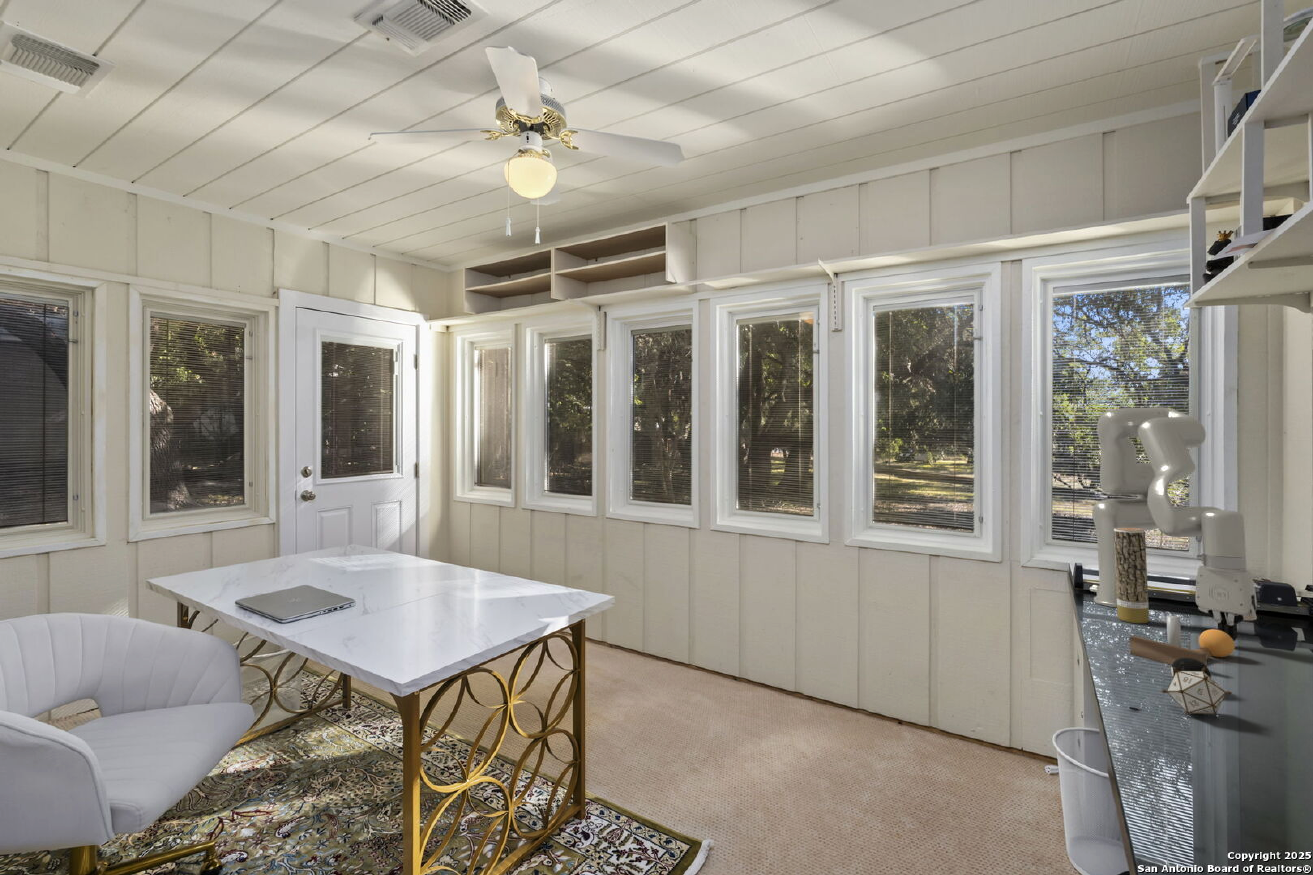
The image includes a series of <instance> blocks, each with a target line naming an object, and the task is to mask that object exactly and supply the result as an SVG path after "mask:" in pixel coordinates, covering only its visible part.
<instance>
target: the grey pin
mask: <svg viewBox="0 0 1313 875" xmlns="http://www.w3.org/2000/svg"><path fill="white" fill-rule="evenodd" d="M1181 630H1182V628H1181V617H1180V616H1176V615H1166V634H1167V635H1166V636H1167V637H1166V638H1167V644H1170V645H1175V646H1179V647H1182V634H1181V633H1182V632H1181Z"/></svg>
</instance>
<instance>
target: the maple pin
mask: <svg viewBox="0 0 1313 875" xmlns="http://www.w3.org/2000/svg"><path fill="white" fill-rule="evenodd" d="M1194 650H1195V651H1199V652H1203V653H1206V657H1207V660H1208V659H1210V658H1212V657H1213V656H1212V653H1211V651H1210V650H1209V649H1208V648H1205V647H1202V648H1201V647H1199V648H1196V649H1194Z"/></svg>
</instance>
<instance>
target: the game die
mask: <svg viewBox="0 0 1313 875" xmlns="http://www.w3.org/2000/svg"><path fill="white" fill-rule="evenodd" d="M1173 669H1174V671H1176V672H1175V675H1174V677H1172V678H1171V681H1170V683H1169V685H1168V687H1167V689H1162V690H1160V692H1161V693H1163V694H1166V693H1167V694H1168V695H1169V696H1170V697H1171V698H1172V699H1173V700H1174V701H1175V702H1176V703H1177V704H1178V705H1179V706H1180V707H1181V708H1182V709H1183V710H1184V711H1185V712H1186V713H1185V714H1187V715H1189V716H1190V714H1204V715H1207V714H1208V715H1214V714H1215V715H1219V714H1218V713H1217V712H1218V710H1219V708H1220V706H1221V704H1222V703H1223V701H1224V698H1225V696H1226V695H1232V694H1233V692H1232V691H1230V690H1227V691H1225V689H1224V688H1222V687H1221V686H1220V685H1219V684H1218V683H1216V681H1215V680H1213V679H1212V677H1211V678H1210V677H1209V676H1208V675H1207V674H1206V673H1205V670H1206V669H1205V667H1204V668H1202V671H1178V670H1177V669H1176V668H1175V667H1173ZM1215 715H1214V716H1215Z"/></svg>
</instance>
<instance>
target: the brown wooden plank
mask: <svg viewBox="0 0 1313 875" xmlns="http://www.w3.org/2000/svg"><path fill="white" fill-rule="evenodd" d="M1195 650H1196V649H1191V648H1188V647H1187V648H1186V647H1183V646H1181V647H1179V646H1175V645H1170V644H1168V643H1166V642H1163V641H1158V640H1153V639H1148V638H1144V637H1141V636H1137V635H1131V636H1129V654H1130V655H1134V656H1137V657H1141V658H1145V659H1148V660H1152V661H1156V662H1160V663H1162V664H1165V665H1166V664H1167V665H1170V666H1172V664H1173V662H1174V661H1175V660H1177V659H1180V658H1193V659H1196V660H1198V661H1200V662H1202V663H1204V664H1205V665H1206V666H1207V667H1208V662H1207V660H1208V659H1207V657H1206V653H1203V652H1199V651H1195Z"/></svg>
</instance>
